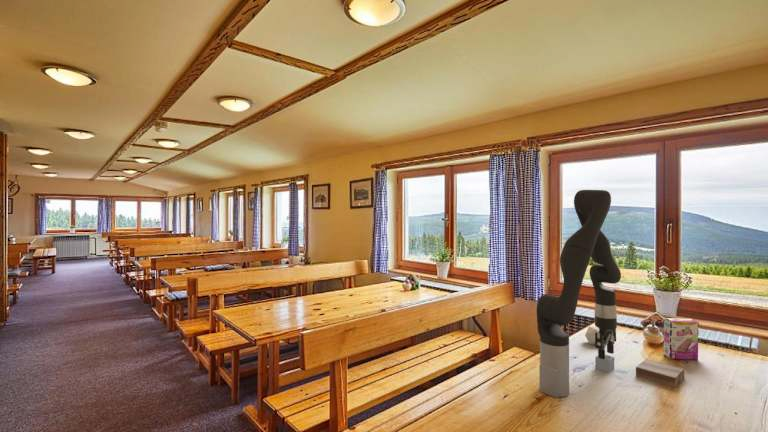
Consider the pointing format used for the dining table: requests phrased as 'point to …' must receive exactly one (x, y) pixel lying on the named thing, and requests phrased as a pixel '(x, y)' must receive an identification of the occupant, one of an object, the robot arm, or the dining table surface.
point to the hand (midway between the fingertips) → (606, 355)
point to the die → (591, 334)
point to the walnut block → (660, 373)
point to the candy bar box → (680, 338)
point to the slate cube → (604, 363)
